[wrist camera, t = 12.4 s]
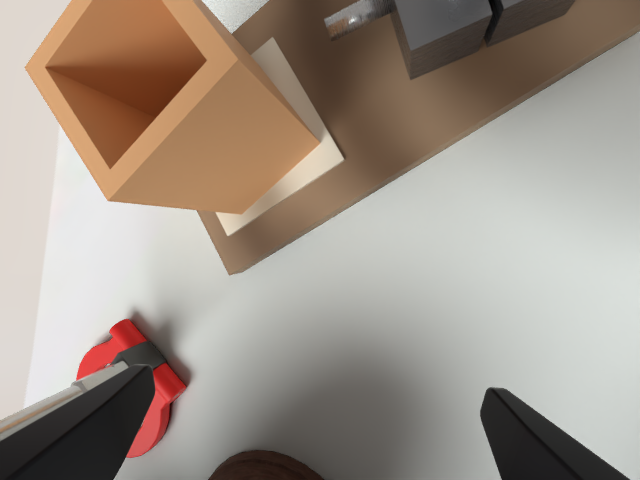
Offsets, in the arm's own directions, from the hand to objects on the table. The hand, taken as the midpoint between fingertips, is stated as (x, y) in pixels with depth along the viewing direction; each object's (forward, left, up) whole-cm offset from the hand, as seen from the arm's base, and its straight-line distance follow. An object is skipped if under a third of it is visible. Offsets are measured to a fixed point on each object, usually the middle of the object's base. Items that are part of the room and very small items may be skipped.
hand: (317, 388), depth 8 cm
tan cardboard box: (+11, -3, -8) cm, 14 cm away
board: (+9, -9, -9) cm, 16 cm away
